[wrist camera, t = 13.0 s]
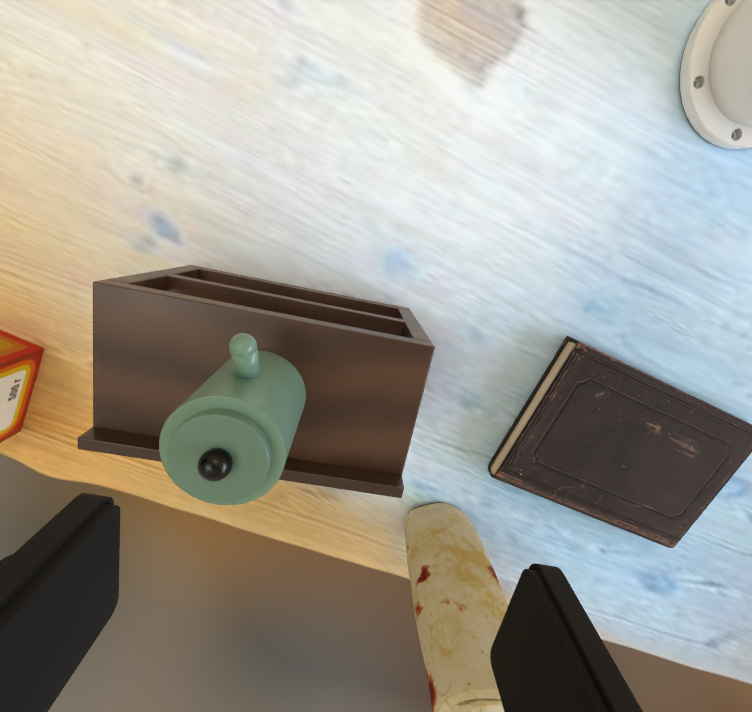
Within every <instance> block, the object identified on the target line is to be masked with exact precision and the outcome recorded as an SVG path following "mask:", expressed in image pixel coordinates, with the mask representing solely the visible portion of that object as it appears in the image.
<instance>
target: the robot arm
mask: <svg viewBox="0 0 752 712" xmlns="http://www.w3.org/2000/svg"><path fill="white" fill-rule="evenodd" d="M680 91H681V100H682V104H683V107H684V110H685V113H686V116H687V118H688V119H689V121H690V123H691V125H692V126H693V128H694V129H695V130H696V131H697V132H698V133H699V134H700V135H701V136H702V137H703V138H704V139H706V140H707V141H709V142H710V143H712V144H714V145H717V146H720V147H723V148H727V149H746V148H752V0H712V1H711V2H710V3H709V5H708V6H707V7H706V9H705V10H704V11H703V13H702V14H701V15H700V17H699V19H698V21H697V23H696V24H695V26H694V28H693V30H692V32H691V34H690V37H689V39H688V42H687V45H686V48H685V50H684V55H683V59H682V64H681V71H680ZM119 540H120V507H119V506H116V505H114V501H113V499H112V498H111V497H106V496H99V495H93V494H86V493H83V494H80V495H78V496H77V497H76V498H75V499H73V500H72V501H71V502H70V503H69V504H68V505H67V506H66V507H65V508H64V509H62V510H61V511H60V512H59V513H58V514H57V515H56V516H55V517H54V518H53V519H52V520H50V521H49V522H48V523H47V524H46V525H45V526H44V527H43V528H42V529H40V530H39V531H38V532H37V533H36V534H35V535H34V536H33V537H32V538H31V539H29V540H28V541H27V542H26V543H25V544H24V545H23V546H22V547H21V548H20V549H19V550H17V551H16V552H15V553H14V554H12V555H10V556H8V557H6V558H4V559H3V560H1V561H0V712H48V710H49V709H50V707H51V706H52V704H53V703H54V701H55V700H56V698H57V697H58V695H59V694H60V692H61V691H62V689H63V688H64V686H65V685H66V683H67V682H68V680H69V679H70V677H71V676H72V674H73V673H74V671H75V670H76V668H77V666H78V665H79V664H80V662H81V661H82V659H83V658H84V656H85V655H86V653H87V652H88V650H89V649H90V647H91V646H92V644H93V643H94V641H95V640H96V638H97V637H98V635H99V634H100V632H101V631H102V629H103V628H104V626H105V625H106V623H107V622H108V620H109V619H110V617H111V616H112V614H113V612H114V610H115V607H116V605H117V602H118V596H119V546H120V544H119V543H120V541H119ZM490 660H491V666H492V670H493V674H494V677H495V681H496V684H497V688H498V691H499V695H500V698H501V702H502V705H503V709H504V712H643V711H642V709H641V708H640V706H639V704H638V703H637V701H636V699H635V697H634V696H633V694H632V692H631V690H630V689H629V687H628V685H627V683H626V682H625V680H624V678H623V676H622V675H621V673H620V671H619V669H618V668H617V666H616V664H615V663H614V661H613V659H612V657H611V656H610V654H609V652H608V650H607V649H606V647H605V645H604V643H603V642H602V640H601V638H600V636H599V635H598V633H597V631H596V629H595V628H594V626H593V624H592V623H591V621H590V619H589V617H588V616H587V614H586V612H585V610H584V609H583V607H582V605H581V603H580V602H579V600H578V598H577V596H576V595H575V593H574V591H573V589H572V588H571V586H570V584H569V583H568V581H567V579H566V577H565V576H564V574H563V572H562V571H561V570H560V569H559V568H558V567H554V566H547V565H541V564H532V565H531V566H530V567H529V569H525V570H523V572H522V574H521V577H520V579H519V582H518V584H517V586H516V589H515V591H514V594H513V596H512V598H511V601H510V603H509V606H508V608H507V611H506V613H505V615H504V618H503V620H502V623H501V625H500V628H499V630H498V632H497V635H496V637H495V640H494V642H493V645H492V647H491V652H490Z"/></svg>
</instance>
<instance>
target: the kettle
mask: <svg viewBox="0 0 752 712" xmlns="http://www.w3.org/2000/svg"><path fill="white" fill-rule="evenodd" d="M229 349H230V353H231V357H232V358H231V359H230V360H228V361H227V362H226V363H225V364H224V365H223V366H222V367H221V368H220V369H218V370H217V371H216V372H215V373H214V374H213V375H212V376H211V377H210V378H209V379H208V380H207V381H206V382H205V383H203V384H202V385H201V386H200V387H199V388H198V389H197V390H196V391H195V392H194V393H193V394H192V395H191V396H190V397H188V398H187V399H186V400H185V401H184V402H183V403H182V404H181V405H180V406H179V407H178V408H177V409H176V410H175V411H174V412H173V413H172V414H171V415H170V416H169V417H168V419H167V420H166V422H165V423H164V426H163V428H162V430H161V434H160V439H159V452H160V458H161V461H162V464H163V466H164V468H165V470H166V472H167V473H168V475H169V476H170V478H171V479H172V480H173V481H174V483H175V484H176V485H178V486H179V487H180V488H181V489H182V490H184V491H185V492H186V493H188V494H189V495H191V496H193V497H195V498H197V499H199V500H202V501H205V502H208V503H212V504H218V505H237V504H243V503H247V502H250V501H253V500H255V499H257V498H259V497H261V496H262V495H264V494H265V493H267V492H268V491H269V490H270V489H271V488H272V487H273V486H274V485H275V484H276V482H277V481H278V479H279V478H280V476H281V474H282V471H283V469H284V466H285V463H286V460H287V457H288V454H289V451H290V448H291V445H292V442H293V439H294V436H295V433H296V430H297V427H298V424H299V421H300V418H301V415H302V412H303V409H304V405H305V401H306V390H305V385H304V382H303V379H302V377H301V375H300V374H299V372H298V371H297V369H296V368H295V367H294V366H293V365H292V364H291V363H290V362H289V361H287V360H286V359H284V358H283V357H281V356H279V355H277V354H274V353H271V352H267V351H258V349H257V343H256V340H255V339H254V338H253V337H252V336H251V335H249V334H247V333H239V334H237V335H235V336H234V337H233V338H232V339H231V340H230V343H229Z"/></svg>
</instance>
